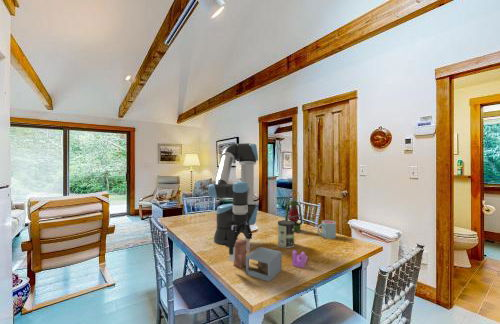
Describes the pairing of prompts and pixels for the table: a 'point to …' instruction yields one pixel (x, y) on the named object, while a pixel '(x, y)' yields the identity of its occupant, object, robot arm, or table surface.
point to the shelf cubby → (265, 256)
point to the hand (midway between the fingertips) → (239, 255)
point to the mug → (328, 229)
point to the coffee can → (286, 233)
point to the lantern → (294, 213)
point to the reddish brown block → (241, 257)
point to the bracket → (297, 261)
